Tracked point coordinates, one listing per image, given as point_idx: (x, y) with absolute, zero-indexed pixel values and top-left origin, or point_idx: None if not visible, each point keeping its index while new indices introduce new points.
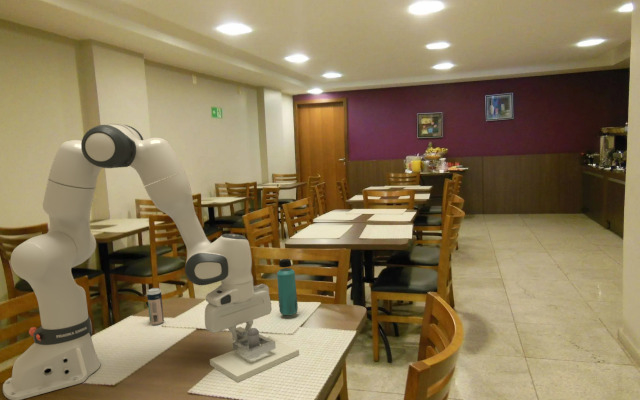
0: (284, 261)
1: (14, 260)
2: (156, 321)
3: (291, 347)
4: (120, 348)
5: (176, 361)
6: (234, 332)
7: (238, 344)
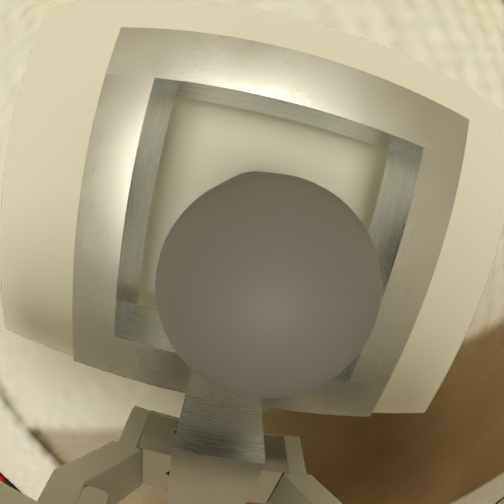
0: None
1: None
2: None
3: (35, 63)
4: None
5: (408, 488)
6: (324, 497)
7: (382, 353)
